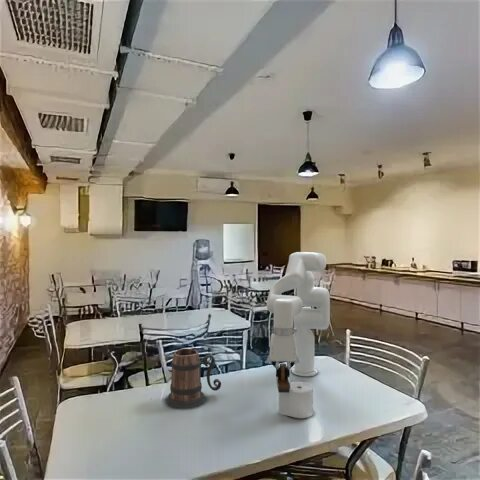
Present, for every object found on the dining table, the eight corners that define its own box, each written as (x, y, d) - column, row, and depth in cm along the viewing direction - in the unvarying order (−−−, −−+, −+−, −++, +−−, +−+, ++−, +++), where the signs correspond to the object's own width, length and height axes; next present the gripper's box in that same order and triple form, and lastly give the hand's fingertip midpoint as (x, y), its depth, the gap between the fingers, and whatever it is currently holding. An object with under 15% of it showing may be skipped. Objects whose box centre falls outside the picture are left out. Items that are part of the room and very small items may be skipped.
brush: (275, 381, 163) (275, 359, 163) (286, 381, 163) (287, 359, 163) (278, 393, 152) (278, 369, 152) (290, 393, 152) (290, 369, 152)
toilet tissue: (318, 412, 159) (318, 386, 158) (300, 422, 150) (300, 396, 150) (295, 403, 166) (295, 379, 166) (277, 413, 157) (277, 388, 157)
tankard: (169, 411, 158) (169, 360, 158) (161, 394, 174) (161, 348, 173) (227, 402, 167) (227, 354, 166) (214, 387, 183) (214, 342, 182)
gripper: (303, 329, 160) (302, 375, 161) (262, 328, 161) (261, 374, 162) (305, 334, 153) (304, 382, 153) (262, 333, 154) (261, 381, 154)
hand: (282, 378), depth 158 cm, fingers closed on brush, 2 cm apart
